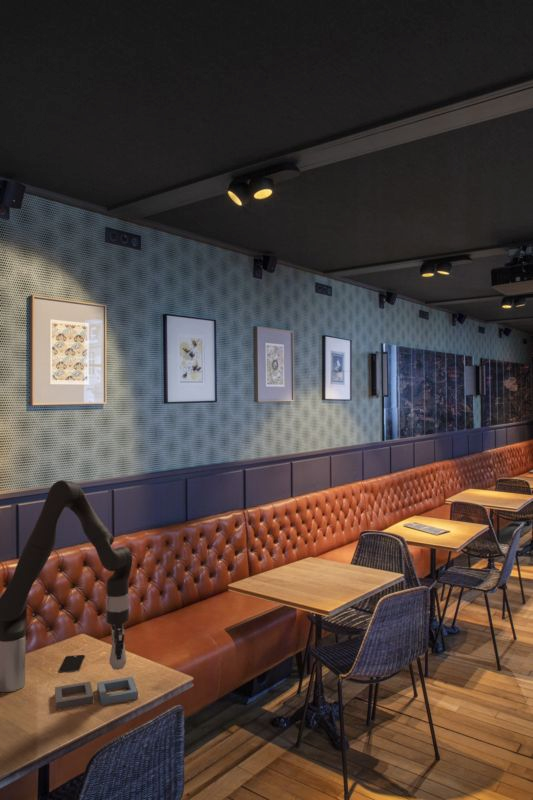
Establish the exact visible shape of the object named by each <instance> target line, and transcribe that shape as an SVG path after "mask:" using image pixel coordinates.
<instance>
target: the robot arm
mask: <svg viewBox="0 0 533 800" xmlns="http://www.w3.org/2000/svg"><path fill="white" fill-rule="evenodd" d="M65 508H67V509H68V508H69V510H70V511H72V512H73V514H75V516H76V517H77V518H78V521H79V522H80V524H81V529H82V531H83V533H84V535H85V537H86V538H87V539H88V541H89V542H90V543H91V545H92V546H93V547H94V548H95V551H96V554H97V556H98V558H99V561H100V563H101V565H102V567H103V568H104V569H105V570H107V571H109V572H113V574H112V575H111V576H110V577H108V579H107V582H106V601H105V603H106V607H105V608H106V609H105V611H106V612H105V613H106V614H105V615H106V616H105V617H106V619H105V620H106V623H107V624H109V625H111V627H110V630H111V635H112V634H113V637H112V636H111V639H112V643H113V642H114V643H115V657H116V654H117V660H118V659H121V654H122V649H123V648H124V646H125V641H124V640H125V626H124V623H127V622H129V620H130V601H129V600H130V598H129V578H130V574H131V570H132V566H133V555H132V552H131V550H130V549H129V548H128V547H126V546H120V547H117V548H112V545H113V543H114V541H115V538H114V536H113V534H112V533H111V531H110V530H109V529H108V527H106V525H105V524H104V523H103V521H102V519H100V518H99V516H98V515H97V513H96V512H95V510H94V508H93V507H92V505H91V503H90V502H89V499H88V497H87V496H86V494H85V492H84V490H83V488H81V486H80V485H79V484H78V483H76V482H73V481H68V480H61V479H60V480H57V481H55V483H53V484H52V485H51V487H50V488H49V490H48V493H47V495H46V498H45V500H44V504H43V506H42V509H41V510H40V511H41V512H40V514H39V516H38V518H37V520H36V522H35V524H34V527H33V528H32V531H31V534H30V535H29V537H28V538H27V541H26V543H25V545H24V547H23V549H22V551H21V554H20V556H19V559H18V560H17V564H16V567H15V569H14V572H13V574H12V577H11V579H10V582H9V583H8V585H7V586H6V588H5V589H4V592H2V594H1V596H0V692H1V693H10V692H15V691H18V690H21V689H22V688H23V687H25V685H26V639H27V637H26V634H27V633H26V632H27V631H26V630H27V621H28V620H27V619H28V617H27V616H28V597H29V594H30V591H31V589H32V587H33V585H34V583H35V582H36V580H37V579H38V577H39V575H40V574H41V572H42V571H43V569H44V568H45V565H46V564H47V562H48V560H49V558H50V556H51V554H52V551H53V549H54V548H55V546H56V540H57V525H58V521H59V519H60V517H61V514H62V513H63V511H64V509H65ZM115 639H116V640H115ZM118 645H120V646H118Z"/></svg>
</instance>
